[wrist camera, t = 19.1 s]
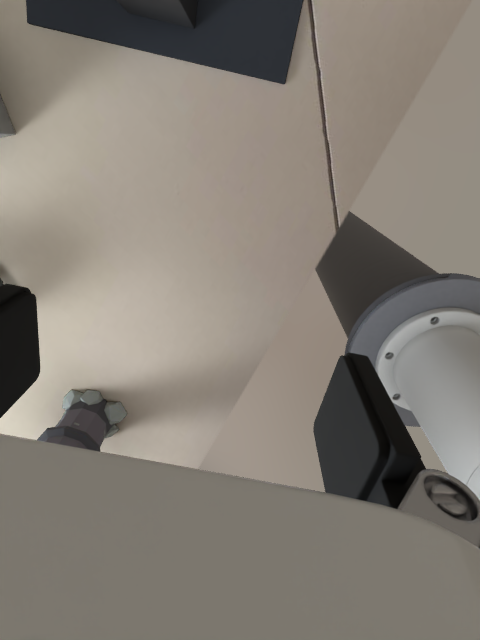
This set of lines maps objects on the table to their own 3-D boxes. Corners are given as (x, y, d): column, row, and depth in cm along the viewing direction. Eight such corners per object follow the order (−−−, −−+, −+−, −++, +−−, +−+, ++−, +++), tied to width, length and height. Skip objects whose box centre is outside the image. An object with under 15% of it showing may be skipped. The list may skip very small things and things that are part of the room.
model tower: (31, 389, 43) (-357, 807, 16) (117, 376, 41) (-149, 812, 14) (64, 448, 47) (-200, 860, 20) (143, 438, 45) (-26, 866, 18)
